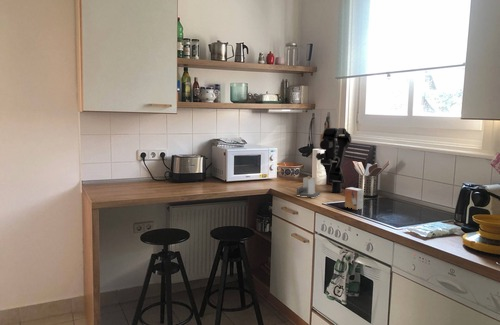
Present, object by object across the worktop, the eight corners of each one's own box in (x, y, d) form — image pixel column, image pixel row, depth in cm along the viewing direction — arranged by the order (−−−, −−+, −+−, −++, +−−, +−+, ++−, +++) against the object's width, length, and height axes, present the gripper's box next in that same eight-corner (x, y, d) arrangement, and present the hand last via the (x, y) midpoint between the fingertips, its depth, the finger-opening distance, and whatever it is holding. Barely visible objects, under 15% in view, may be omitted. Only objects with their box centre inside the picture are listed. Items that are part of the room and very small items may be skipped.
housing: (309, 191, 255) (309, 175, 254) (314, 192, 251) (315, 176, 250) (303, 192, 253) (303, 175, 251) (308, 193, 248) (308, 177, 247)
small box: (344, 207, 223) (344, 188, 222) (350, 205, 227) (351, 186, 225) (356, 210, 217) (357, 190, 216) (363, 208, 221) (363, 189, 219)
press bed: (303, 193, 259) (303, 185, 259) (319, 195, 254) (319, 187, 253) (296, 196, 251) (296, 188, 250) (313, 198, 245) (313, 190, 245)
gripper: (323, 147, 262) (322, 171, 264) (312, 149, 246) (311, 175, 248) (340, 148, 257) (339, 173, 258) (330, 150, 241) (329, 176, 242)
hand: (329, 174), depth 252 cm, fingers open, 9 cm apart
